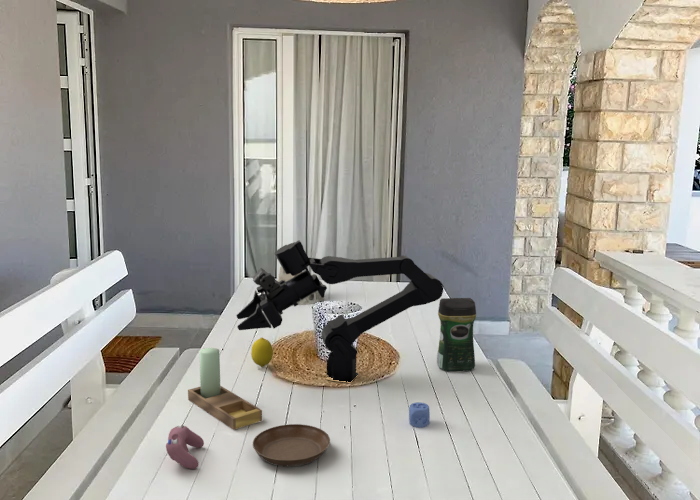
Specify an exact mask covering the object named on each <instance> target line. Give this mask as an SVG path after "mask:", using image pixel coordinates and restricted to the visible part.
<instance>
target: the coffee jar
mask: <svg viewBox="0 0 700 500" xmlns="http://www.w3.org/2000/svg"><path fill="white" fill-rule="evenodd" d="M439 299H440V298H439ZM437 314H438V318H439V323H440V329H439V330H440V331H439V339H438V340H439V341H438V347H437V349H438V350H437V355H436V356H437V357H436V366H437V367H438V369H440V370H442V371H445V372H448V373H449V372H450V373H451V372H452V373H457V372H458V373H460V372H469V371H470V372H471V371H473V370H475V368H476V358H475V356H476V355H475V347H474V346H475V345H474V323H475V321H476V318H477V309H476V302H475V301H474V299H473V298H471V297H451V298H450V297H448V298H447V297H445V298H443V297H442V298H441V299H440V300H439V306H438V310H437Z"/></svg>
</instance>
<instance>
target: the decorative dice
mask: <svg viewBox="0 0 700 500" xmlns="http://www.w3.org/2000/svg"><path fill="white" fill-rule="evenodd" d="M408 409H409V410H408V411H409V412H408V419H409V425H410V426H412V427H414V428H419V429H420V428H422V429H423V428H425V427H428V426H429V425H430V419H431V417H430V415H431V413H430V405H429V404H427V403H425V402H413V403H411V404H410V405H409V407H408Z"/></svg>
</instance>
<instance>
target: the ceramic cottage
mask: <svg viewBox="0 0 700 500" xmlns="http://www.w3.org/2000/svg"><path fill="white" fill-rule="evenodd" d="M302 272H303V271H302ZM302 272H301V273H302ZM299 274H300V273H299ZM297 275H298V274H297ZM297 275H294V276H292V275H291V274H286V273H285V271H284V270H283V268H282V266H280V267H279V273H278V278H277V279H278V280H277V281H278V282H279V281H281V280H285V281H288V280H290V279H291V278H293V277H295V276H297ZM311 275H317V274H316V273H312V274H311ZM319 281H320V282H321V284H322V285H324V284H323V281H321V280H319ZM320 301H323V302H325V297H324V298H322V297H321V296H320V294H319V292H318V291H317V292H315V293H313V294H311V295H310V296H308V297H306V298H304V299H303V300H301V301H299V302H297V303H298V305H297V306H306V305H308V306H309V305H316V304H315V303H317V302H320ZM320 303H321V302H320ZM292 306H293V307H294V305H292Z"/></svg>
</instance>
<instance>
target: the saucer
mask: <svg viewBox="0 0 700 500" xmlns="http://www.w3.org/2000/svg"><path fill="white" fill-rule="evenodd" d="M330 443H331V438H330V435H329V434H328V432H326V431H325V430H323V429H322V428H318V427H317V426H313V425H308V424H301V423H300V424H299V423H293V424H292V423H291V424H281V425H277V426H273V427H269V428H267V429H264V430H263V431H260V433H258V434H257V435H256V436H255V437H254V438H253V441H252V448H253V450H254V451H255V453H256V454H257V455H258V456H259V457H260V458H261V459H263V460H264V461H266V462H267V463H269V464H272V465H274V466H279V467H286V468H287V467H289V468H290V467H299V466H305V465H308V464H310V463H312V462H314V461H315V460H317V459H319V458H320V457H321V456H322V455H323V454H324V453H325V452H326V450H327V449H328V447H329V446H330Z"/></svg>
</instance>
